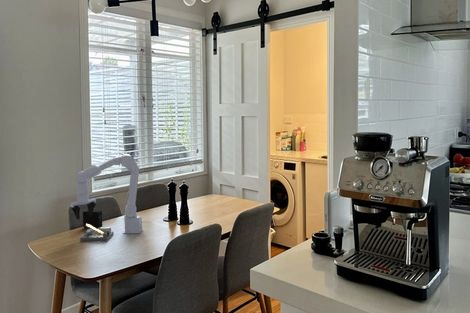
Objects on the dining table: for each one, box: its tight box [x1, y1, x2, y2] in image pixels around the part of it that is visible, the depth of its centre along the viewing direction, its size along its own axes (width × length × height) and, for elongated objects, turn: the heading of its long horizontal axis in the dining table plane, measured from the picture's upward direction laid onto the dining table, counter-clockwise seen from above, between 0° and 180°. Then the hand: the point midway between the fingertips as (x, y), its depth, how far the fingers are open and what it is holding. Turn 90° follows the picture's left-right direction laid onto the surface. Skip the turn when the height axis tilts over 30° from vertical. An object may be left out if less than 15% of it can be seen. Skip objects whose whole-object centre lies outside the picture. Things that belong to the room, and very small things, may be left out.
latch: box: [85, 228, 94, 234], centre depth 219 cm, size 2×4×2 cm, turn 0°
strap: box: [85, 224, 108, 235], centre depth 215 cm, size 12×2×1 cm, turn 92°
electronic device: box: [82, 209, 103, 230], centre depth 239 cm, size 4×10×10 cm, turn 78°
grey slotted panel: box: [80, 226, 114, 243], centre depth 218 cm, size 14×11×4 cm
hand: (84, 217), depth 223 cm, fingers open, 7 cm apart
